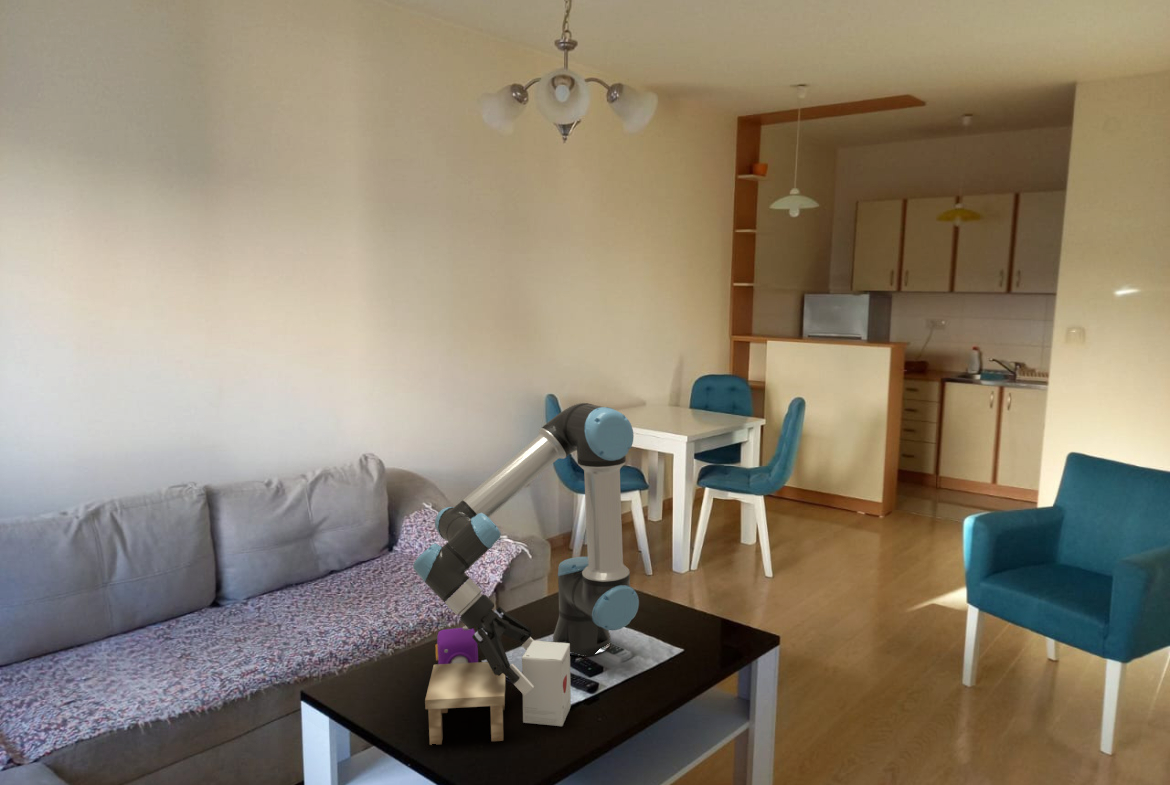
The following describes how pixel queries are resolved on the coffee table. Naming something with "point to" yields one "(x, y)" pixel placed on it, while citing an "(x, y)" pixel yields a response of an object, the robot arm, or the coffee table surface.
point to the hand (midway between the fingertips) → (538, 676)
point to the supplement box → (547, 683)
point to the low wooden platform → (464, 695)
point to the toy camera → (456, 646)
